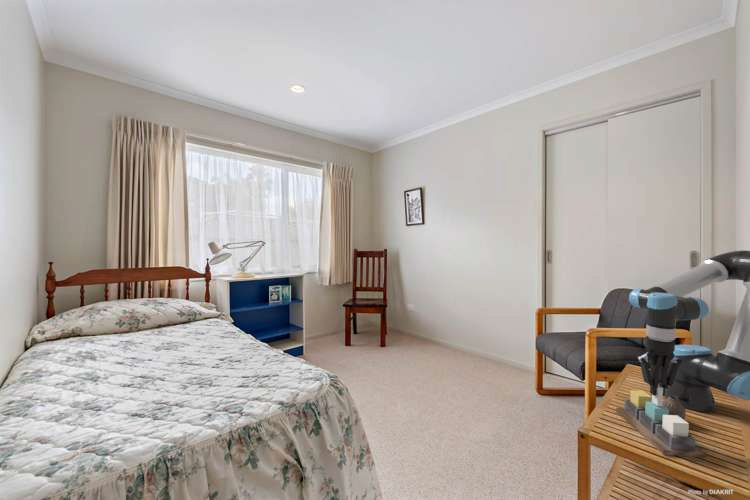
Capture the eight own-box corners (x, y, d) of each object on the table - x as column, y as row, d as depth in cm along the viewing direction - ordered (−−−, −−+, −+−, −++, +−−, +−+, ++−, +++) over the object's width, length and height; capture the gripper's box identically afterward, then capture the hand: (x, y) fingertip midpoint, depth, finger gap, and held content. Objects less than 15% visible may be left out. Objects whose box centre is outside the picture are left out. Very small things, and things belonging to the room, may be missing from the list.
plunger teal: (658, 415, 114) (659, 402, 113) (668, 423, 109) (668, 409, 109) (645, 414, 114) (645, 401, 114) (654, 422, 110) (654, 408, 109)
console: (649, 412, 123) (650, 399, 123) (705, 457, 99) (706, 440, 99) (616, 411, 125) (616, 397, 124) (663, 454, 101) (663, 438, 100)
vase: (687, 428, 114) (689, 404, 113) (662, 422, 117) (663, 399, 117) (682, 418, 120) (683, 395, 119) (658, 412, 123) (659, 390, 123)
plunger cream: (676, 429, 106) (677, 415, 105) (688, 438, 101) (688, 423, 101) (662, 428, 106) (662, 414, 106) (672, 437, 102) (673, 422, 101)
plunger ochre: (642, 403, 121) (643, 390, 121) (651, 409, 117) (651, 396, 117) (630, 402, 122) (630, 390, 122) (638, 409, 118) (638, 396, 117)
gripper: (672, 334, 112) (669, 399, 114) (632, 333, 114) (629, 397, 116) (690, 342, 105) (686, 411, 107) (647, 341, 107) (644, 408, 108)
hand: (656, 403), depth 111 cm, fingers closed
